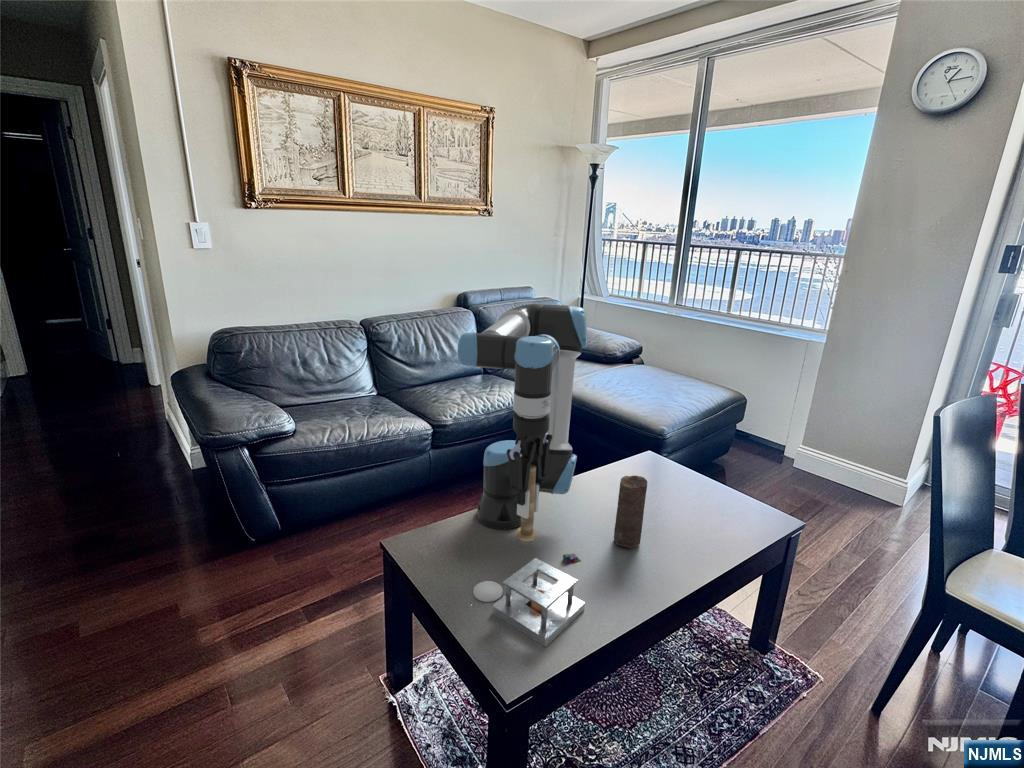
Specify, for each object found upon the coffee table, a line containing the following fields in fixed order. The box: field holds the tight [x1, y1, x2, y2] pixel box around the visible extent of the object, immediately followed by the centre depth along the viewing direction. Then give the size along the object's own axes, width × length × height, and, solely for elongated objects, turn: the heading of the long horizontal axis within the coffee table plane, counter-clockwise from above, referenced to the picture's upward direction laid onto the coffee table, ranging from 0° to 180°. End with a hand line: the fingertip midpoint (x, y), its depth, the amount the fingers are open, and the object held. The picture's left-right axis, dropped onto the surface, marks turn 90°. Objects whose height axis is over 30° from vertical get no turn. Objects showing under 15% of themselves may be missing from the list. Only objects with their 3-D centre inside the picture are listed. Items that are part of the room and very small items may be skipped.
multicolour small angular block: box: [562, 553, 582, 564], centre depth 137 cm, size 4×3×2 cm
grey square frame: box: [491, 557, 586, 648], centre depth 118 cm, size 15×15×8 cm
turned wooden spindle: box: [516, 464, 538, 543], centre depth 113 cm, size 4×4×17 cm
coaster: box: [472, 580, 504, 603], centre depth 124 cm, size 7×7×1 cm
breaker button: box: [530, 590, 545, 614], centre depth 118 cm, size 4×4×4 cm
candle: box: [613, 475, 648, 549], centre depth 143 cm, size 8×7×20 cm
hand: (527, 512), depth 114 cm, fingers closed on turned wooden spindle, 3 cm apart
